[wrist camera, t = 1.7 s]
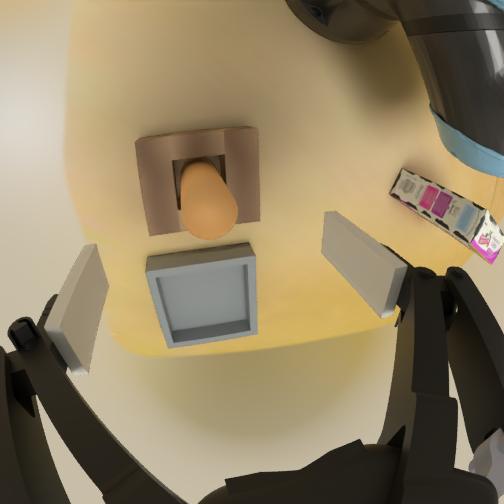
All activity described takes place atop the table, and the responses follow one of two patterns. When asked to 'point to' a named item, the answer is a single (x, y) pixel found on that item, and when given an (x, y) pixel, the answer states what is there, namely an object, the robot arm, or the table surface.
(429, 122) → the table surface
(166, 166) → the hitch block
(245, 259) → the tray
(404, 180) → the candy bar box
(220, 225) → the pin
